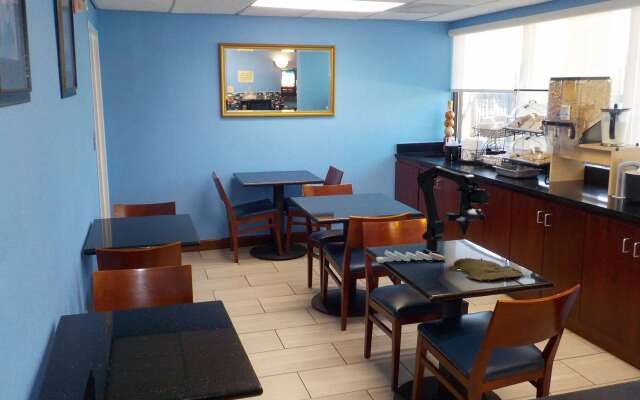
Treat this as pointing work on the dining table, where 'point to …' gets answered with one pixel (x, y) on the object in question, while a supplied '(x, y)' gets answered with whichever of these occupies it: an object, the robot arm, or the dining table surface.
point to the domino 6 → (436, 256)
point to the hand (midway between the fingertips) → (463, 234)
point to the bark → (484, 269)
